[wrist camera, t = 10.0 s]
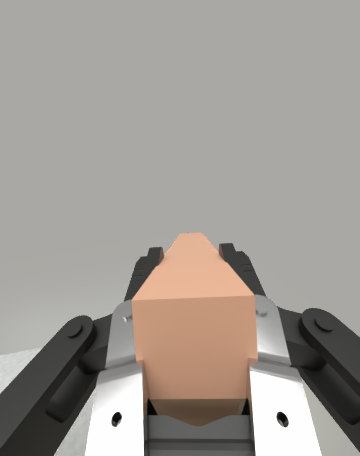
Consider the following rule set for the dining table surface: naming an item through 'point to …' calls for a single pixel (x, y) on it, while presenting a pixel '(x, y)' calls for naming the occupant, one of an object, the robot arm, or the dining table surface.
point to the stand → (199, 409)
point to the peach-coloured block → (194, 324)
